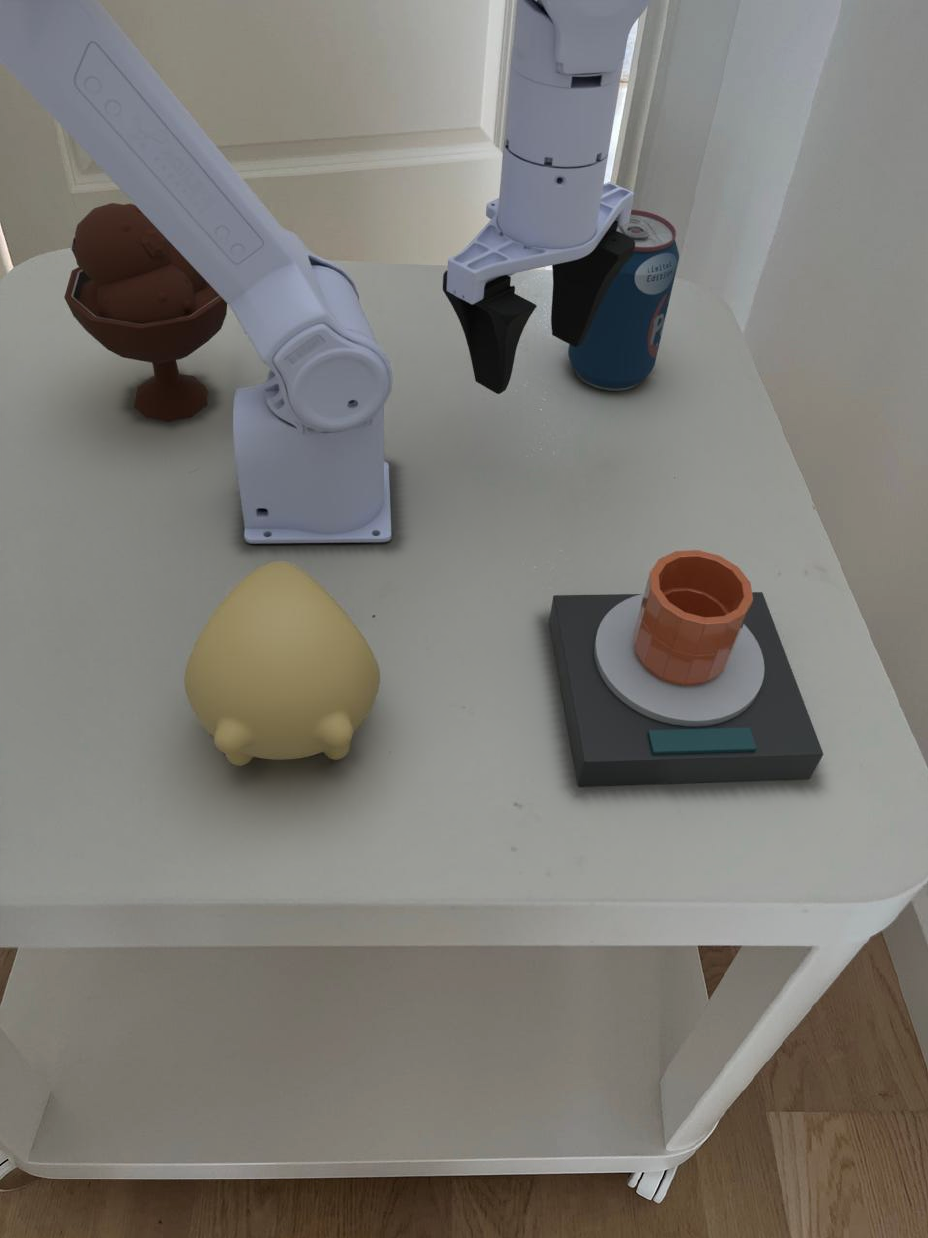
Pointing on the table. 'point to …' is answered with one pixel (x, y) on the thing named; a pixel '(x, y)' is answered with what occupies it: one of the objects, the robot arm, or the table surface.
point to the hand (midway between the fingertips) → (529, 361)
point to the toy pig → (281, 670)
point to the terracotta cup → (691, 616)
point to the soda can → (631, 310)
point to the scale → (676, 703)
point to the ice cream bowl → (143, 304)
